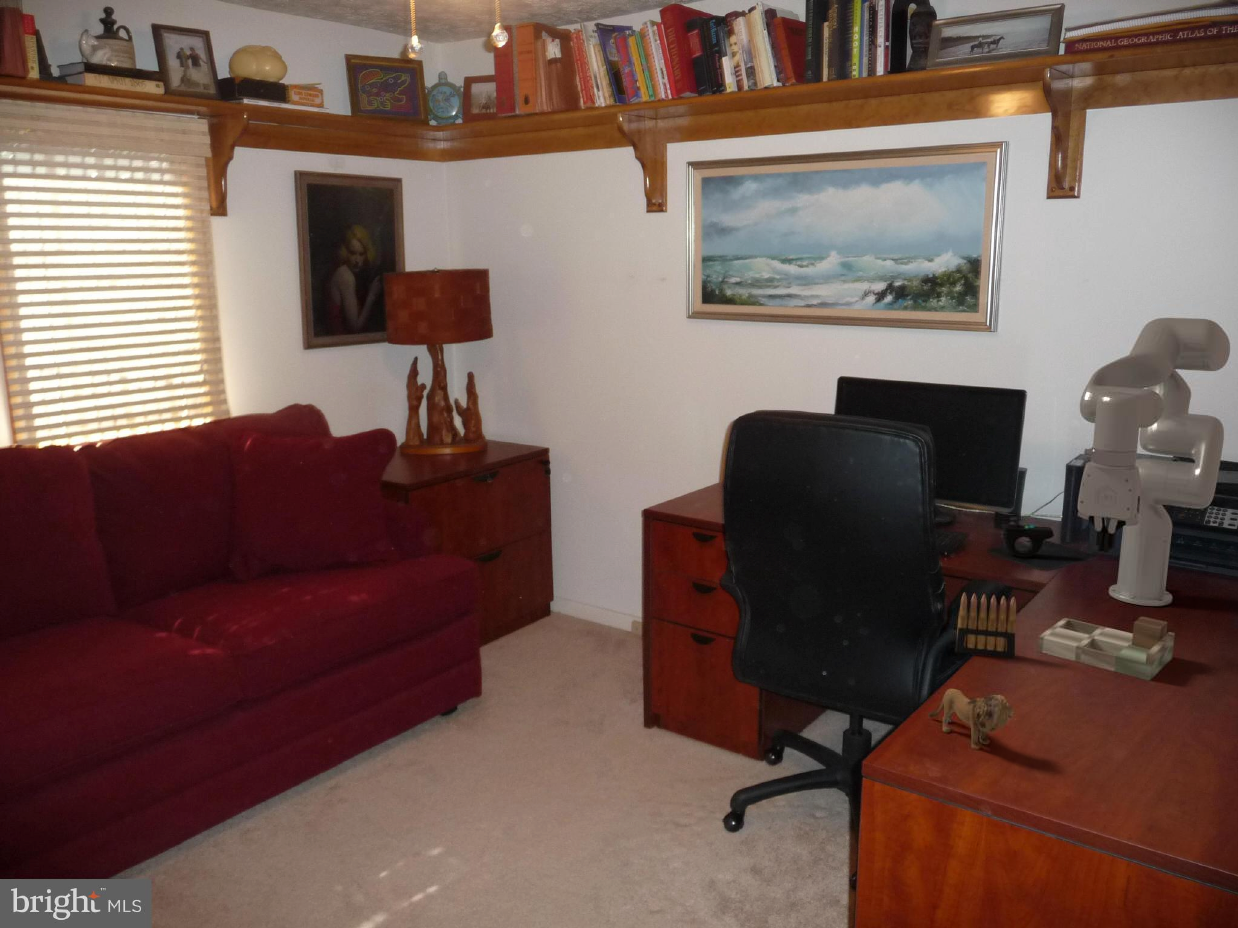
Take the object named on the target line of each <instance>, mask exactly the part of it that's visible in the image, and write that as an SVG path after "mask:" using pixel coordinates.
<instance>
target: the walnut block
mask: <svg viewBox="0 0 1238 928" xmlns="http://www.w3.org/2000/svg"><path fill="white" fill-rule="evenodd" d="M1167 627H1168V621H1163V620H1159V619H1154V618H1150V617H1146V616H1140V617H1139V618H1137V619H1136V621H1134V622H1133V628H1132V629H1133V630H1132V634H1133V637H1132V645H1133V646H1137V647H1141V648H1145V649H1149V650H1151V649H1152V648H1153V647H1154V646H1155V645H1156V644H1157V643H1158V642H1159V641H1160V640H1161V639H1162V638H1163V637H1164V636H1165V635H1166V634H1167V631H1168V628H1167Z"/></svg>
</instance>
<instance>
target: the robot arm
mask: <svg viewBox="0 0 1238 928" xmlns="http://www.w3.org/2000/svg"><path fill="white" fill-rule="evenodd" d="M1230 352H1231V342H1230V339H1229V336H1228V334H1227V333H1226V331H1225V330H1224V329H1223V328H1222V327H1221V325H1220V324H1219V323H1217V322H1216V321H1213V320H1212V319H1207V318H1186V317H1185V318H1183V317H1160V318H1155V319H1153V320H1151V321H1148V323H1146V324H1145V325H1144V326H1143V328H1142V329H1141V331H1140V333H1139V334H1138V337H1137V339H1136V341H1135V343H1134V344H1133V346H1132V348H1131V350H1130V352H1129V354H1128V355H1125V356H1123V357H1120V358H1118V359H1116V360H1114V361H1111V362H1110V363H1108V364H1105V365H1103V366H1101V367H1099V368H1098V369H1097V370H1095V372H1094V373H1093V374H1092V375H1091V377H1090V379H1089V380H1088V383H1087V384H1086V386H1085V388H1084V390H1083V392H1082V395H1081V397H1080V402H1079V412H1080V415H1081V417H1082V418H1083V419H1084V420H1085V421H1086V422H1088V423H1092V424H1094V430H1093V440H1092V447H1091V448H1085V449H1084V450H1083V451H1084V452H1083V454H1084V456H1087V457H1089V460H1090V461H1088V462H1086V463H1085V466H1084V469H1083V472H1082V473H1083V474H1082V477H1081V482H1080V485H1079V486H1080V488H1079V494H1078V499H1077V500H1078V501H1077V510H1078V512H1077V517H1080V518H1082V519H1084V520H1088V522H1090V523H1091V524H1092V526H1093V527H1094V530H1095V531H1096V541H1095V546H1097V551H1098V552H1100V553H1101V552H1104V553H1106V554H1108V553H1109V552H1110V551H1112V549H1114V548H1115V547H1116V537H1117V531H1118V530H1121V529H1122V533H1121V534H1122V535H1121V543H1120V552H1119V553H1120V554H1119V555H1120V556H1119V562H1118V563H1119V565H1118V573H1117V583H1116V584H1112V585H1111V586H1110V587H1109V588H1108V593H1109V595H1110V596H1111V597H1112V598H1114V599H1115V600H1118V601H1121V602H1125V603H1129V604H1133V605H1138V606H1144V607H1145V606H1146V607H1147V606H1148V607H1162V606H1167V605H1169V604H1171V603H1172V601H1173V594H1171V593H1170V592H1169V591H1167V590H1166V584H1167V578H1168V577H1167V576H1168V568H1169V558H1170V550H1171V542H1172V540H1171V539H1172V533H1173V531H1172V530H1173V522H1172V519H1171V517H1170V515H1169V513H1168V512H1167V510H1166V509H1165V508H1164V506H1163V505H1165V506H1174V507H1180V508H1181V507H1182V508H1188V509H1189V508H1190V509H1199V510H1200V509H1205V508H1207V507H1208V506H1210V504H1211V503H1212V501H1213V499H1214V496H1215V493H1216V488H1217V481H1218V476H1219V470H1220V466H1221V459H1222V453H1223V450H1224V449H1223V447H1224V442H1225V441H1224V440H1225V439H1224V438H1225V432H1224V431H1225V430H1224V425H1223V423H1222V422H1221V421H1222V420H1220V419H1219V418H1218V417H1215V416H1212V415H1208V414H1207V415H1206V414H1199V413H1198V414H1197V413H1189V409H1190V403H1191V398H1192V391H1191V388H1190V386H1189V385H1188V383H1187V382H1186V380H1185V379H1184V377H1182V375H1181V374H1180V373H1179V372H1178V371H1177V370H1185V371H1198V372H1199V371H1201V372H1217V371H1220V370H1221V369H1223V368H1224V367H1225V366H1226V365H1227V363H1228V361H1229V358H1230ZM1138 442H1139V445H1140V447H1141V449H1142V450H1143V451H1144V452H1147V453H1150V454H1156V455H1162V456H1171V457H1179V458H1189V459H1192V460H1194V463H1191V462H1181V461H1173V460H1165V459H1157V458H1156V459H1155V458H1137V454H1138V453H1137V452H1138ZM1106 519H1110V520H1109V524H1108V527H1107V520H1106Z"/></svg>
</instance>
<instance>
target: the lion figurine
mask: <svg viewBox="0 0 1238 928" xmlns="http://www.w3.org/2000/svg"><path fill="white" fill-rule="evenodd" d="M943 709H944V710H943ZM942 710H943V711H944V712H943V717H942V731H943V732H944V733H950V732H951V728H950V727H949V725H948V723H952V722H953V717H951V714H952V713H956V716H958V718H959V719H960V720H961V721H962V722H964V723H965V724H967V725H970V730H971V732H970V733H971V740H970V741H971V743H970V744H971V748H972V749H973V750H979V749H981V746H980V743H981V744H984V745H988V744H989V743H990V740H989V738H986V735H987V733H988V734H989V733H993V732H995V731H996V730H997V729H1000V728H1004V727H1005V726H1006V725H1007V724H1008V722H1009V720H1010V719H1011V717H1012V716H1013V715H1014V712H1015V709H1014V708H1013V707H1012V706H1010V704H1009V703H1008V702H1007V700H1006V697H1005V696H1004V695H1001V694H997V695H996V694H992V695H989V696H986V697H985V696H984V697H981V698H979V697H976V698H973V699H972V700H971V699H969V698H968V697H967V696H966V695H964V693H963V691H961V690H959V689H955V688H949V689H947V690H946V691H945V693H944V695H943V698H942V701H941V703H940V705H939V708H938V709H937V710H936V711H934V712H931V713H929V714H928V716H930V717H931V718H935V717H937V716H938V715H939V714H940V713H941V712H942ZM978 738H979V739H978ZM979 742H980V743H979Z"/></svg>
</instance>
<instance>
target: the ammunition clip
mask: <svg viewBox="0 0 1238 928" xmlns="http://www.w3.org/2000/svg"><path fill="white" fill-rule="evenodd" d="M967 597H968V596H967V593H966V592H963V593H962V596H961V600H960V607H959V612H958V616H957V617H958V620H957V631H956V639H955V640H956V642H955V648H954V650H955V653H958V654H959V653H961V654H969V655H978V656H986V657H987V656H988V657H994V658H995V657H996V658H997V657H998V658H1005V659H1015V657H1016V656H1015V654H1016V630H1017V602H1016V598H1015V596H1013V597H1012V598H1011V601H1010V604H1009V609H1008V616H1007V599H1006V596H1005V595H1002V598H1001V599H1000V604H999V610H998V611H997V604H998V603H997V598H996V595H995V594H994V595H992V597H991V600H990V604H989V610H988V602H987V601H988V600H987V596H986V594H985V593H984V594H983V595H982V597H981V600H980V605H979V611H978V608H977V607H978V600H977V599H978V598H977V595H976V593H973V595H972V597H971V600H970V605H969V606H970V607H969V611H968V598H967ZM987 610H988V611H989V612H987ZM997 612H998V613H997ZM997 614H998V615H997Z"/></svg>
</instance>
